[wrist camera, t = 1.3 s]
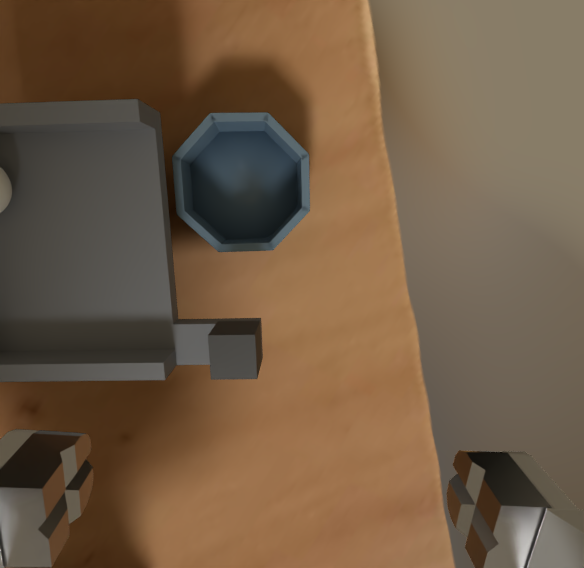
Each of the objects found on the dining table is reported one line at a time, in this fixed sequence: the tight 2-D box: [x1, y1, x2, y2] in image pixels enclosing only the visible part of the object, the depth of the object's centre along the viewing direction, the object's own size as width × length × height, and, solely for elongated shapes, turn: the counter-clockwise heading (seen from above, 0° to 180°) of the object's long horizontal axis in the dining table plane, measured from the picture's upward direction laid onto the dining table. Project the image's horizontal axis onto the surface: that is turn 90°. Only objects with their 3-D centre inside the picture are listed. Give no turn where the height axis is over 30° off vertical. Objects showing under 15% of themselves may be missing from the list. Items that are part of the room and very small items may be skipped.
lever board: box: [0, 99, 263, 382], centre depth 26 cm, size 17×20×4 cm
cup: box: [172, 113, 310, 252], centre depth 33 cm, size 10×10×5 cm
